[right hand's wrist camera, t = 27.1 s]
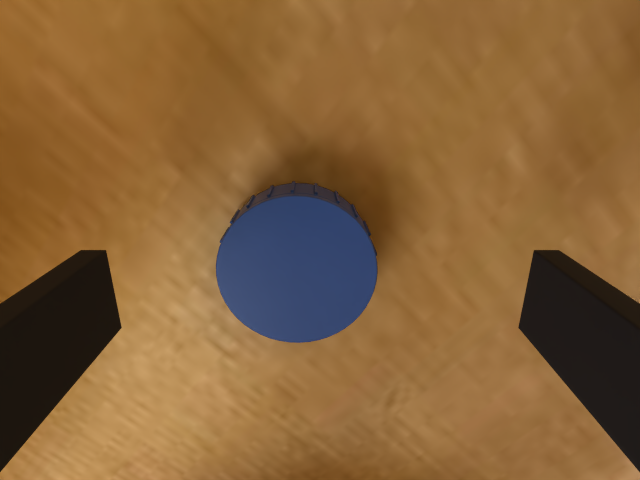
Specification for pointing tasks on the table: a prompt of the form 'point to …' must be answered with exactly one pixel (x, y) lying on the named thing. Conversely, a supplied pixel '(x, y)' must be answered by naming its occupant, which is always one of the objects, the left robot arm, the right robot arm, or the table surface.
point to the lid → (297, 263)
